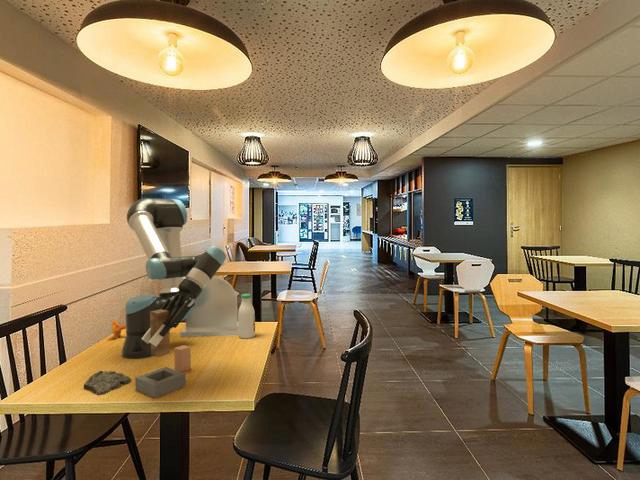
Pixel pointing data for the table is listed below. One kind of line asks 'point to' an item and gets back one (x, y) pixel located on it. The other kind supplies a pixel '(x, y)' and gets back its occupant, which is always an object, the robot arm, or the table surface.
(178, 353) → the short peg
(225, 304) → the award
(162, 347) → the long peg
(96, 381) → the stone slab
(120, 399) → the table surface
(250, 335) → the milk bottle
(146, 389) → the collar
